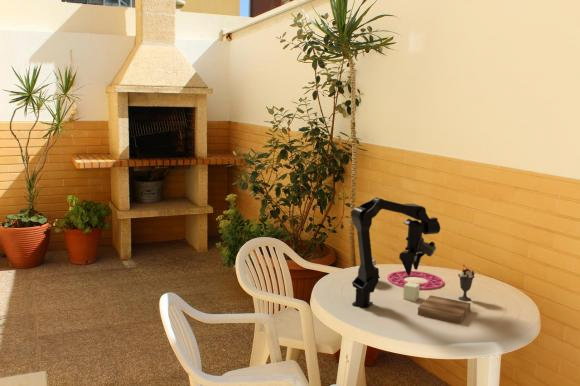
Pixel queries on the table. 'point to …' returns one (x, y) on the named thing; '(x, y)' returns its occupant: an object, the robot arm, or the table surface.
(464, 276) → the sundae
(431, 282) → the trivet
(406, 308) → the table surface
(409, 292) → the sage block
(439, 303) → the walnut base
